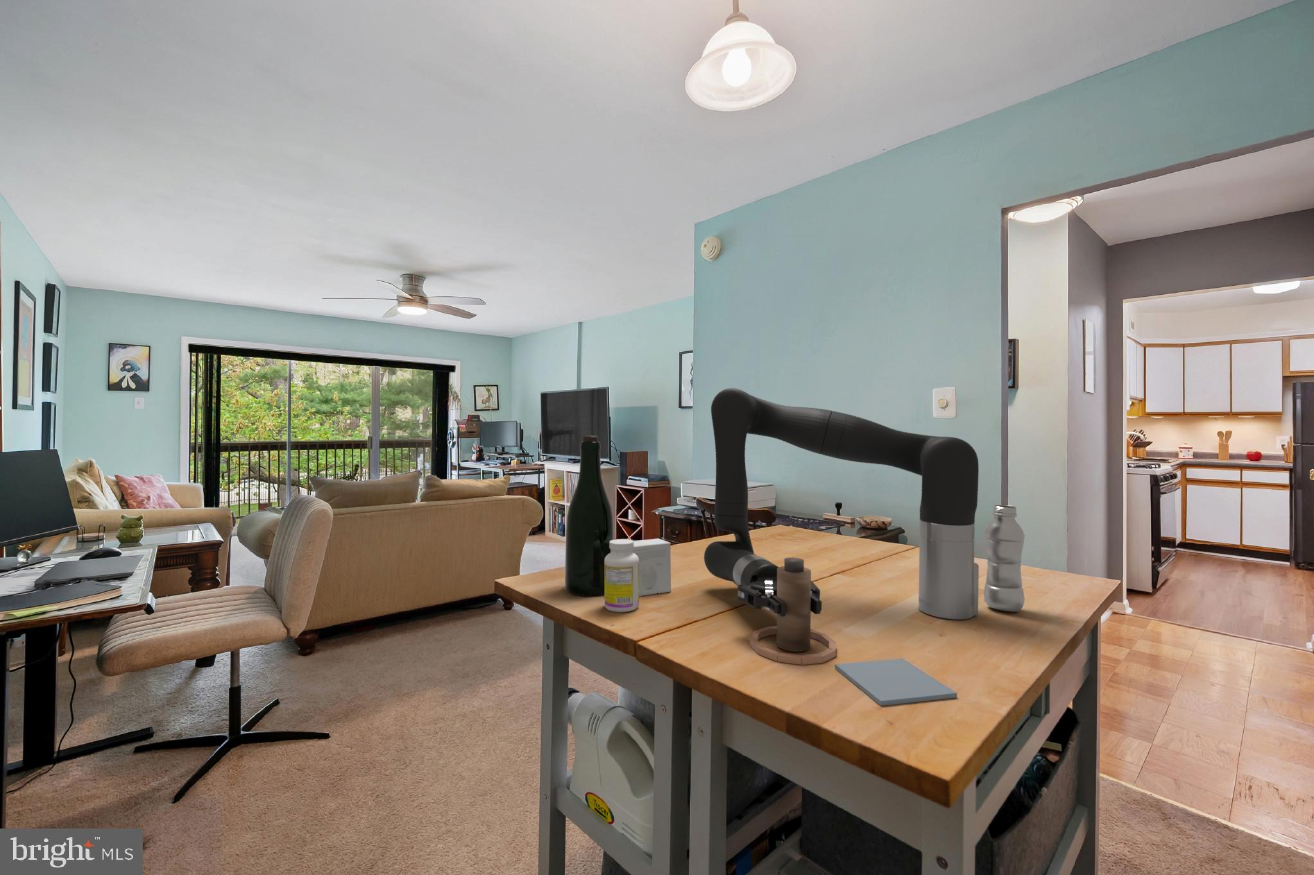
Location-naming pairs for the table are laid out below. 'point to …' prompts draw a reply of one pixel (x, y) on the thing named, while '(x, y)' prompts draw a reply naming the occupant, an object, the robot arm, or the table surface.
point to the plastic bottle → (1004, 560)
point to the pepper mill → (794, 605)
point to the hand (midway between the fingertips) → (801, 608)
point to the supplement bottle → (621, 577)
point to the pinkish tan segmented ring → (793, 658)
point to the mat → (894, 681)
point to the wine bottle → (588, 525)
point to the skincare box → (653, 566)
